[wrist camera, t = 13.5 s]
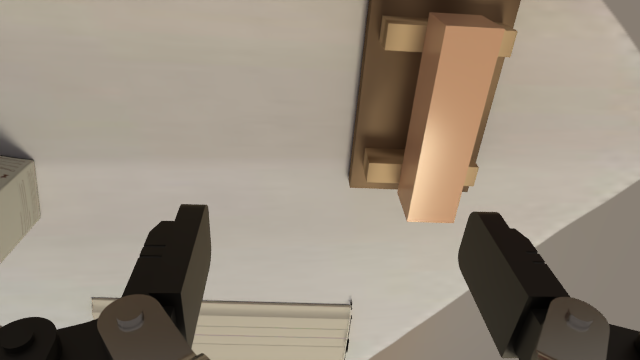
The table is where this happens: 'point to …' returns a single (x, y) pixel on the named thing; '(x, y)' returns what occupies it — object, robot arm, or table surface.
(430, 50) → the clay bar
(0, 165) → the supplement box
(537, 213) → the table surface
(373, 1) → the cleated wooden board
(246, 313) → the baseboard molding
